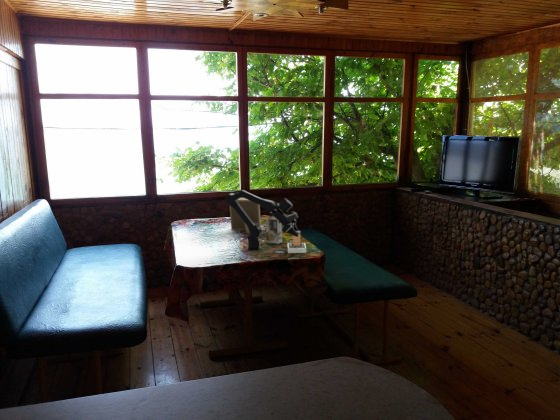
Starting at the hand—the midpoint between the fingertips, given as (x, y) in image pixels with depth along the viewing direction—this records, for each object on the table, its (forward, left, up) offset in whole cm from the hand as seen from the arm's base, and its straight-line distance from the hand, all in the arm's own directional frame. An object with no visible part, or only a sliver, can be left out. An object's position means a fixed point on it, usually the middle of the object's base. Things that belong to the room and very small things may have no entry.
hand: (298, 235), depth 258 cm
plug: (-1, 0, -8) cm, 8 cm away
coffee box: (-15, +20, -10) cm, 27 cm away
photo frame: (-37, +53, -10) cm, 66 cm away
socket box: (-1, 0, -9) cm, 10 cm away
